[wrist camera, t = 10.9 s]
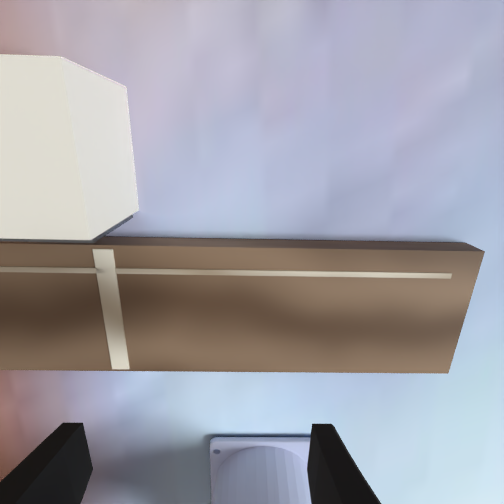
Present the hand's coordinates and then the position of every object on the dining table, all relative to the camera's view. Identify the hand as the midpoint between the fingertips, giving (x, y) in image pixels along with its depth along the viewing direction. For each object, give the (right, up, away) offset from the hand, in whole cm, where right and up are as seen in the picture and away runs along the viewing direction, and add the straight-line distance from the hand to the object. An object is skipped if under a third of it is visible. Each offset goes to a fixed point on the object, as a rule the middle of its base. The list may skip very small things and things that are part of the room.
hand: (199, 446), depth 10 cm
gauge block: (-7, +11, +6) cm, 15 cm away
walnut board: (-1, +3, +9) cm, 9 cm away
